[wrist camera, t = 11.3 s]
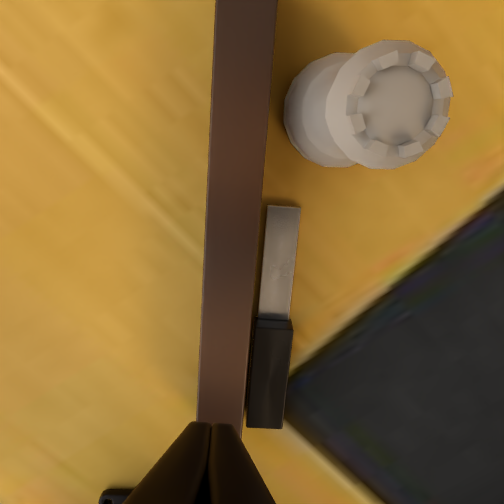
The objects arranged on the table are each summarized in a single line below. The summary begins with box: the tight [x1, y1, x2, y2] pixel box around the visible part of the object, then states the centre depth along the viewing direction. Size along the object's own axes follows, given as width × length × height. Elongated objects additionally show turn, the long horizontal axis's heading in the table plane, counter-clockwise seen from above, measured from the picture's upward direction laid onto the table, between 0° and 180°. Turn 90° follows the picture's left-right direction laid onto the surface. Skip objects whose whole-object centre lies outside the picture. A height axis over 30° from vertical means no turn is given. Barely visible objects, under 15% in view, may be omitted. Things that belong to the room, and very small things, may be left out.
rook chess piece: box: [283, 40, 453, 169], centre depth 14 cm, size 4×4×8 cm
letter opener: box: [246, 204, 301, 429], centre depth 20 cm, size 11×2×1 cm, turn 176°
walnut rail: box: [196, 0, 278, 439], centre depth 18 cm, size 20×2×4 cm, turn 176°
